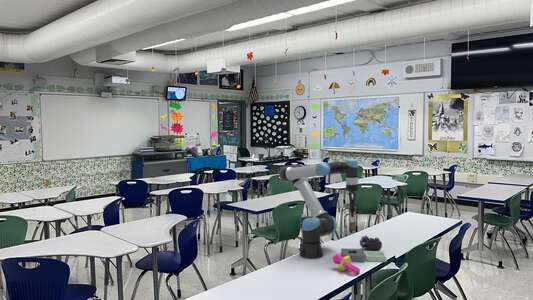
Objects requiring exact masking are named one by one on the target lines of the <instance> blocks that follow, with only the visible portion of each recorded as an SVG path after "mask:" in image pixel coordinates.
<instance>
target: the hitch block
mask: <svg viewBox="0 0 533 300" xmlns="http://www.w3.org/2000/svg"><path fill="white" fill-rule="evenodd" d="M340 253H341V254H340V255H341V256H342V257H345V256H348V255H349V256H350V258H351V263H365V262H366V258H365V250H364V248H346V247H345V248H340Z"/></svg>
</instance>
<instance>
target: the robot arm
mask: <svg viewBox="0 0 533 300" xmlns="http://www.w3.org/2000/svg"><path fill="white" fill-rule="evenodd" d="M336 174H343V175H345V190H346V191H347V192H348V191H349V192H348V197H349V198H348V199H349V206H350V211H349V210H348V213H349V212H350V222H355V212H354V211H355V207H356V206H355V201H356V192H357V191H358V190H359V181H360V178H359V161H358V159H357V158H347V159H345V161H339V160H334V161H331V162H324V163H323V162H322V163H317V164H311V165H303V164H294V165H284V166H283V167H281V168H280V170H279V171H278V176H279V177H278V178H279V179H280V181H282V182H284V183H287V184H289V183H292V185H293V187H294V188H295V187H296V188H297V189H298V192H299V194H300V195H301V197H302V198H303V200H304V203H305V204H306V206H307V208H308V210H309V212H310V214H311V216H312V217H307V218H304V219H303V220H302V222H301V238H302V239H301V240H302V241H301V247H300V248H299V255H300V257H302V258H304V259H310V260H311V259H313V260H314V259H319V258H322V257H323V256H324V251H323V248H322V244H321V237H325V236H330V235H332V234H333V233H335V232H336V230H337V225H338V223H337V220H336V218H335V217H334V216H333V215H330V214H329V212H328V211H326V210H324V208H323V206H322V204H321V202H320V201H319V199H318V197H317V195H316V194H315V192H314V190H313V188H312V186H311V184H310V183H309V178H316V177H325V176H331V175H336Z"/></svg>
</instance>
